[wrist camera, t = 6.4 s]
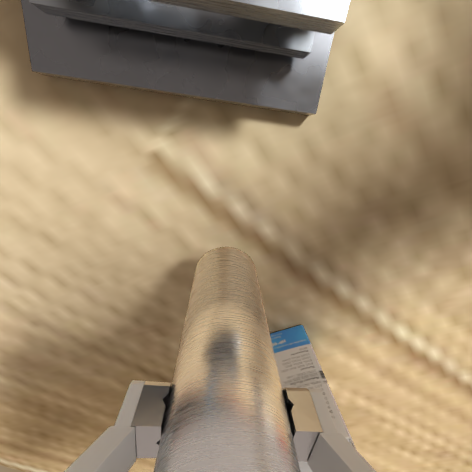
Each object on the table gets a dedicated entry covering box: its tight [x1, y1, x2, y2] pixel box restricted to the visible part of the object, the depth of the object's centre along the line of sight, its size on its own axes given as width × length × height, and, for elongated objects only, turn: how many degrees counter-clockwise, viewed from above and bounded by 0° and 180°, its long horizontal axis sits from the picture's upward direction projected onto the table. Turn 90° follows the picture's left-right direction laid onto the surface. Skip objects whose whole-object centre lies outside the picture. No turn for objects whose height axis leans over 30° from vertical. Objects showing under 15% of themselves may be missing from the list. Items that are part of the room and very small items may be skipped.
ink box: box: [270, 325, 356, 472], centre depth 24 cm, size 9×5×15 cm, turn 16°
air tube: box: [154, 247, 301, 472], centre depth 10 cm, size 5×5×18 cm
